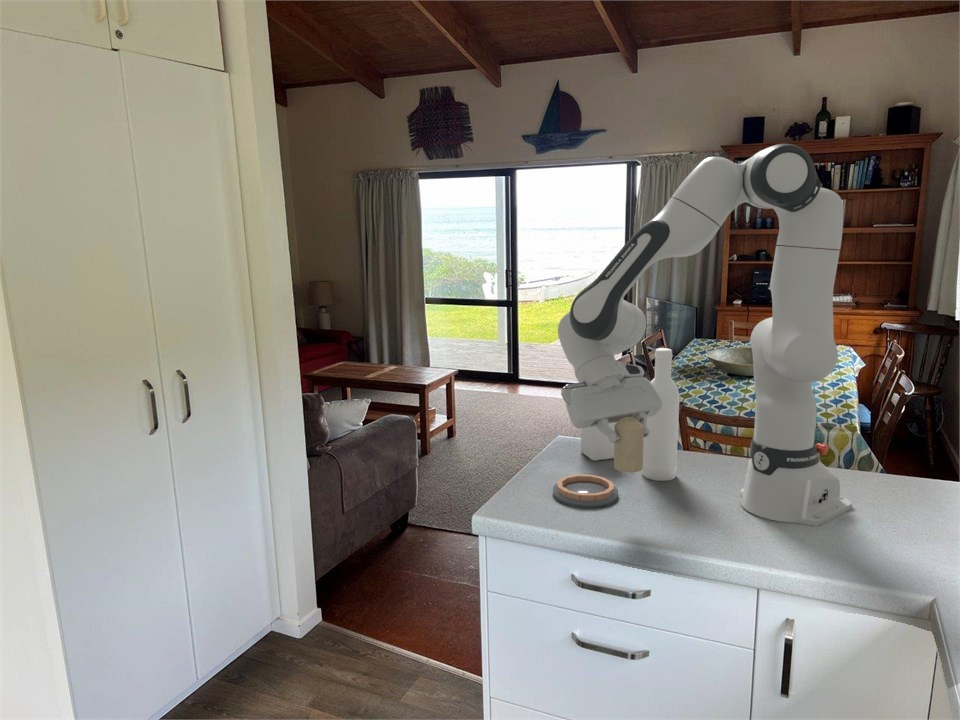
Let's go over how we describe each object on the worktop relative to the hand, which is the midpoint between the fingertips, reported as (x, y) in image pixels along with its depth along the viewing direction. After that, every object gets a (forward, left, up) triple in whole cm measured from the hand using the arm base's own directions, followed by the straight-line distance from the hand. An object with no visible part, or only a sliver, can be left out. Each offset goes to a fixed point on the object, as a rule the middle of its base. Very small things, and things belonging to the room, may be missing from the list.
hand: (631, 438), depth 128 cm
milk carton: (-18, -35, -17) cm, 43 cm away
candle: (0, -1, -6) cm, 6 cm away
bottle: (-22, -17, -17) cm, 32 cm away
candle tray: (0, -15, -17) cm, 22 cm away
